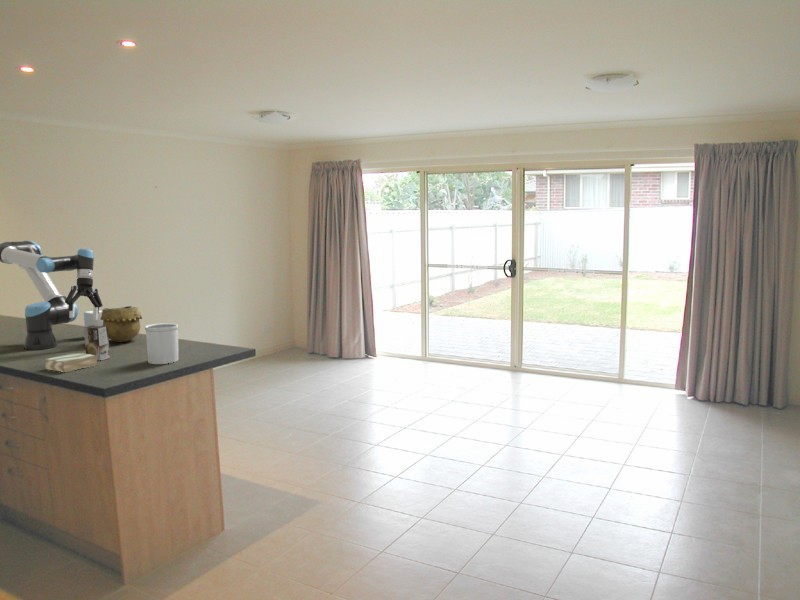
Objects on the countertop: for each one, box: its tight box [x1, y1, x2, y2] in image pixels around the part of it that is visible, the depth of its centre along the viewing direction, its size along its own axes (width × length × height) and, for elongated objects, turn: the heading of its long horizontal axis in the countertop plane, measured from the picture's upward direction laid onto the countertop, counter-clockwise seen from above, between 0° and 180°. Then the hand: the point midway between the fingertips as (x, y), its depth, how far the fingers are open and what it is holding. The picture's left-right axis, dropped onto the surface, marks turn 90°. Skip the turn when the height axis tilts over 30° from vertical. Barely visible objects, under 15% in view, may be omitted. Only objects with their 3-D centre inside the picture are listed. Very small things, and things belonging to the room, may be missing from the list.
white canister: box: [83, 309, 103, 327], centre depth 349 cm, size 9×9×15 cm
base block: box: [44, 351, 98, 372], centre depth 281 cm, size 14×16×5 cm
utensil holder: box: [144, 322, 179, 365], centre depth 293 cm, size 15×15×18 cm
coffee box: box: [83, 325, 111, 361], centre depth 297 cm, size 9×6×16 cm
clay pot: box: [100, 305, 143, 343], centre depth 337 cm, size 21×21×20 cm
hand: (83, 318), depth 316 cm, fingers open, 13 cm apart
